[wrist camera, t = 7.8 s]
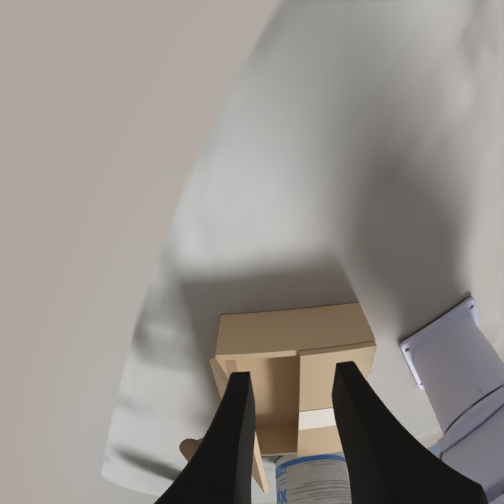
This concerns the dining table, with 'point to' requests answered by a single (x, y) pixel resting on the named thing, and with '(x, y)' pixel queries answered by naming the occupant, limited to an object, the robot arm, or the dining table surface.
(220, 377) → the far flap
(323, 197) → the dining table surface
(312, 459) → the supplement tub
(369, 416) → the robot arm
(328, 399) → the carton
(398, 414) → the dining table surface
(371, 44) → the dining table surface
